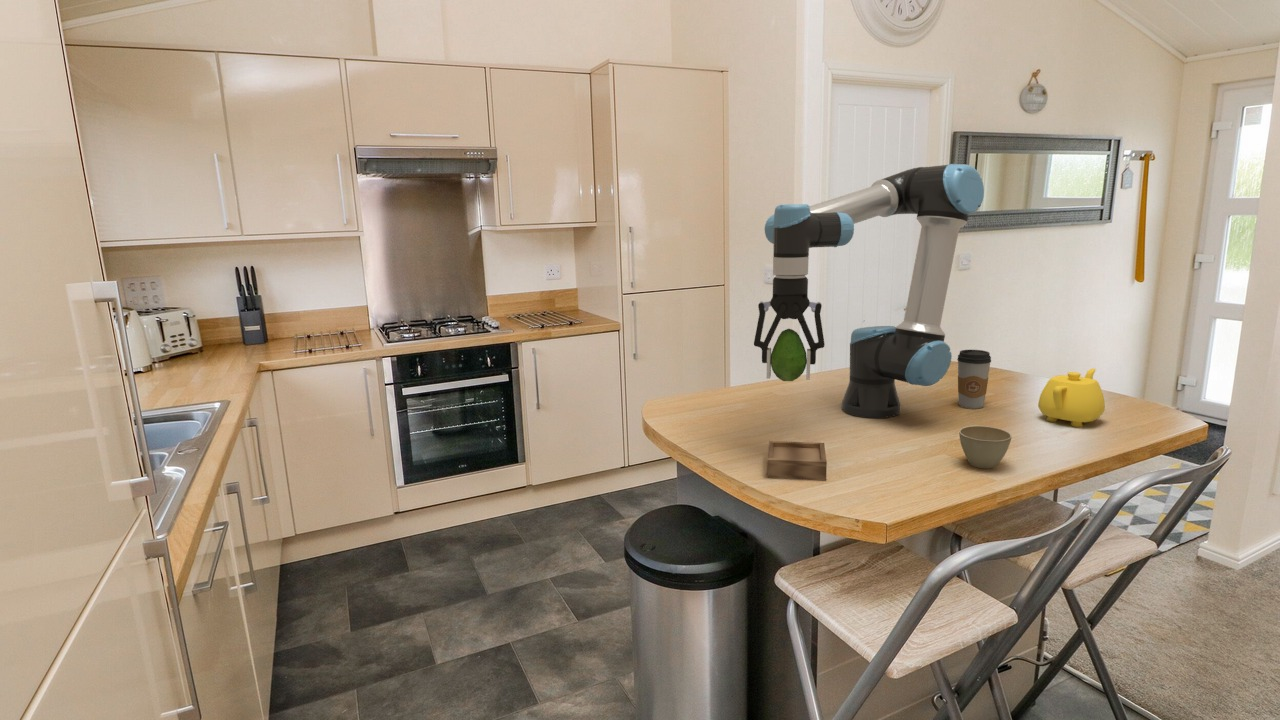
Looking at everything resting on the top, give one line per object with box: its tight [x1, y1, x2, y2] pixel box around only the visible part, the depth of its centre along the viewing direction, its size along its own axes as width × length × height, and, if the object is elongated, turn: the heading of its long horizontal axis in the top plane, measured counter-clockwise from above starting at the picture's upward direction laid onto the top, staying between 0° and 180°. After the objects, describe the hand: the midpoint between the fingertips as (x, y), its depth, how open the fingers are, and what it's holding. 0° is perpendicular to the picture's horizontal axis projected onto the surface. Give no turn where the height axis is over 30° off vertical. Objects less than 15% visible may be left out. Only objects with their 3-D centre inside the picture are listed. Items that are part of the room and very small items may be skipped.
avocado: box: [771, 328, 807, 382], centre depth 156 cm, size 8×8×12 cm
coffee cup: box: [956, 349, 992, 410], centre depth 190 cm, size 8×8×15 cm
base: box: [766, 440, 828, 481], centre depth 150 cm, size 12×12×4 cm
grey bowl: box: [958, 425, 1012, 469], centre depth 149 cm, size 10×10×7 cm
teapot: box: [1037, 367, 1106, 428], centre depth 175 cm, size 13×20×12 cm
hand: (788, 377), depth 157 cm, fingers closed on avocado, 8 cm apart
